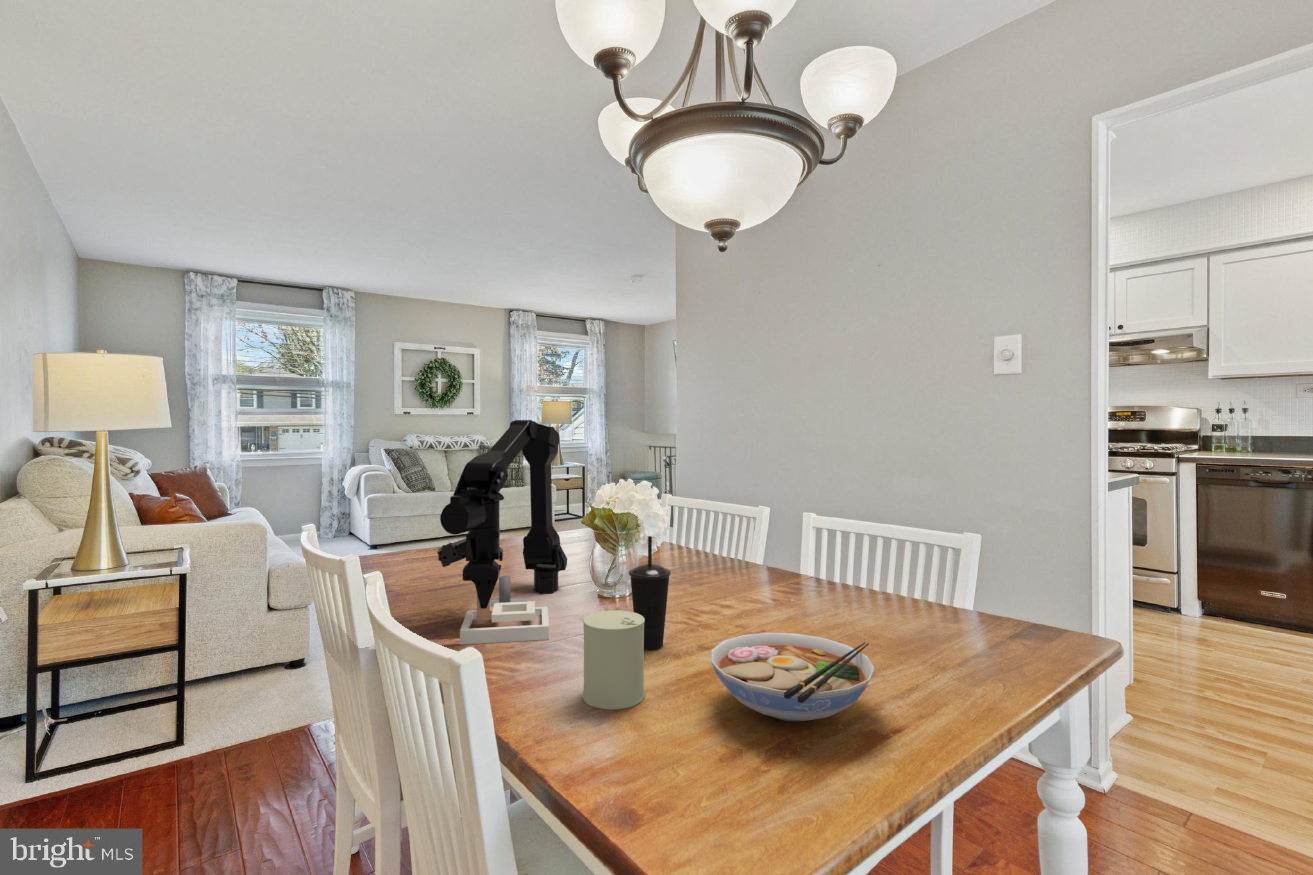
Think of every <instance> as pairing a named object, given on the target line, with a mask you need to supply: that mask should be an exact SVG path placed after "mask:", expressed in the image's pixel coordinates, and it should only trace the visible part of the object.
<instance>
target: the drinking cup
mask: <svg viewBox="0 0 1313 875" xmlns="http://www.w3.org/2000/svg"><path fill="white" fill-rule="evenodd" d="M647 536H648V537H647V563H646V564H640V565H638V566H636V567H633V568H631V569H630V570H629V571H628V576H629V577H630V584H631V585H630V586H631V598H632V609H633V611H632V612H634V613H637V614H640V615H642V616H643V617H644V619H645V622H644V651H656V650H660V649H661V648H663V647H664V646H663V645H664V637H665V627H666V615H667V606H668V604H667V603H668V595H669V594H668V593H669V581H670V576H671V574H672V572H671V570H670V569H669V568H665V567H664V566H661V565H659V564H656V563H655V564H653V561H652V560H653V558H652V557H653V556H652V555H653V553H652V552H653V536H652V535H651V536H649V535H647Z"/></svg>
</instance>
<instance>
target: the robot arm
mask: <svg viewBox="0 0 1313 875" xmlns="http://www.w3.org/2000/svg"><path fill="white" fill-rule="evenodd" d="M560 440H561V439H560V434H559V432H558V431H557V430H556V429H555V428H554V427H553V426H548V425H544V424H541V423H538V422H536V421H535V420H532V419H514V420H512V421H511V422H510V423H509V428H508V429H506V431H505V432H504V433H503V434H502V435H501V437H500V438H498V440H497V441H496V442H495V443H494V444H493V445H492V447H491V448H490V449H489V450H488V451H487V452H485V453H482V454H480V455H476V456H474V457H473V458H472V459H470V460H469V461H468V462H466V464H465V465H464V468H463V470H462V472H461V474H460V477H459V480H458V482H457V484H456V487H455V490H454V492H453V494H452V495H450V497H449V499H450V500H449V502H450V503H448V504H447V505H445V506H444V507H443V509H442V511H441V514H440V516H439V519H440V524H441V527H442V528H443V530H444V531H445V532H446V533H448V534H449V535H453V536H454V535H460V534H464V533H467V534H466V535H465V538H463V539H460V540H457V541H455V542H448V543H447V544H443V545H442V546H441V547H440V548H439V549H438V550H437V551H436V554H437V555H438V558H437V560H438V561H439V562H440V564H441V566H442V568H446V567H448V566H451V564H454V563H457V562H459V561H461V560H463V559H465V562H467V563H466V564H465V565H464V567H463V568H462V581H465V582H472V583H473V584H474V586H475V591H476V596H477V595H478V599H479V603H480V607H481V609H485V608H487V606H488V603H489V601H490V598H491V599H492V595H493V592H494V590H495V588H496V584H497V582H498V581H499V577H500V574H501V573H500V572H501V570H502V564H499V563H498V562H497V561H499V562H503V560H504V549H503V548H502V547H501V546H500V535H501V528H500V502H501V501H504V499H505V497H504V495H503V493H501V492H500V491H501V490H502V488H503V487H504V485H505V483H506V481H507V480H508V478H509V472H508V469H509V467H510V465H511V464H512V462H513V461H514V460H515V459H516V457H517V456H518V455H519V454H520V453H522V456H523V457H524V459H525V460H526V462H527V464H528V466H529V486H530V489H529V490H530V529H529V531H528V533H527V534H526V535H525V536H524V537H523V540H522V544H523V545H522V546H523V549H522V556H523V562H524V563H523V564H524V567H525V570H533V592H534V593H538V594H539V595H553V594H555V593H556V592H557V591H559V572H561V571H566V568H567V566H568V558H567V556H566V554H565V551H564V550H563V547H562V546H561V538H560V535H559V534H558V532H557V531H556V528H555V527H554V526H553V496H552V495H553V494H552V492H553V491H552V464H553V462H554V460H555V458H556V456H557V455H558V452H559V445H560ZM496 560H497V561H496Z"/></svg>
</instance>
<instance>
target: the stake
mask: <svg viewBox="0 0 1313 875" xmlns="http://www.w3.org/2000/svg"><path fill="white" fill-rule="evenodd" d="M507 602H527V597H525V598H511V576H510V575H501V576H499V577H498V599H497V598H496V599H491V607H494V603H507Z"/></svg>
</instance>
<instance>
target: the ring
mask: <svg viewBox="0 0 1313 875" xmlns="http://www.w3.org/2000/svg"><path fill="white" fill-rule="evenodd" d="M491 600H492V597H491V598H490V601H489V603H488V606H487V608H485V609H481V607H480V603H479V599H478V595H477V594H476V610H477V611H476V618H475V619H478V620H479V619H491V623H505V622H506V623H509V622H523V621H525V622H526V621H535V620H536V615H535V607H536V601H534V600H533V601H531V600H529V601H526V602H507V603H494V607H491ZM512 611H513V612H512Z"/></svg>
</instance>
